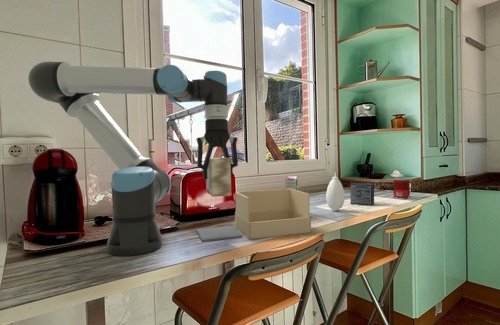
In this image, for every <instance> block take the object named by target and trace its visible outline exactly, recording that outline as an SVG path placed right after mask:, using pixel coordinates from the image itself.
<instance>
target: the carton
mask: <svg viewBox="0 0 500 325" xmlns="http://www.w3.org/2000/svg"><path fill="white" fill-rule="evenodd" d="M234 195H235V213H234V226H235V227H234V228H235V229H236V230H237V231H238V232H239V233H240V234H241V235H242V236H244V237H245V238H247V239H248V240H250V239H251V240H252V239H261V238H272V237H280V236H281V237H282V236H289V235H298V234H299V235H300V234H305V233H306V234H308V233H312V217H311V216H310V215H311V214H310V213H311V212H310V211H311V209H310V208H311V206H310V204H311V203H310V193H308V192H304V191H301V190H299V189H298V190H294V189H286V188H281V189H280V188H278V189H276V188H275V189H261V190H245V191H244V190H243V191H235V194H234Z"/></svg>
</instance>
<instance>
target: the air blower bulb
mask: <svg viewBox="0 0 500 325" xmlns="http://www.w3.org/2000/svg"><path fill="white" fill-rule="evenodd" d="M336 173H337V172H336V171H334V176H332V178H331V180H330V181H329V183H328V185H327V189H326V195H325V197H326V198H325V199H326V203H327V207H328V208H330V209H331V210H332V211H333V212H338V211H339V210H340V209H342V208H343V206H344V203H345V197H346V196H345V189H344V186H343V184H342V182H341V181H340V179H339V177H338V176H337V174H336Z"/></svg>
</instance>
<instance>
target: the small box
mask: <svg viewBox="0 0 500 325" xmlns="http://www.w3.org/2000/svg"><path fill="white" fill-rule="evenodd" d="M355 204H358V206H368V205H372V206H373V205H375V183H367V182H365V183H364V182H362V183H360V182H352V183H350V205H355Z"/></svg>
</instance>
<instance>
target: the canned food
mask: <svg viewBox="0 0 500 325" xmlns="http://www.w3.org/2000/svg"><path fill="white" fill-rule="evenodd" d="M410 184H411V182H410V178H409V177H394V178H393V198H394V197H397V198H408V197H409V198H410V193H411V191H410ZM397 198H396V199H397Z"/></svg>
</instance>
